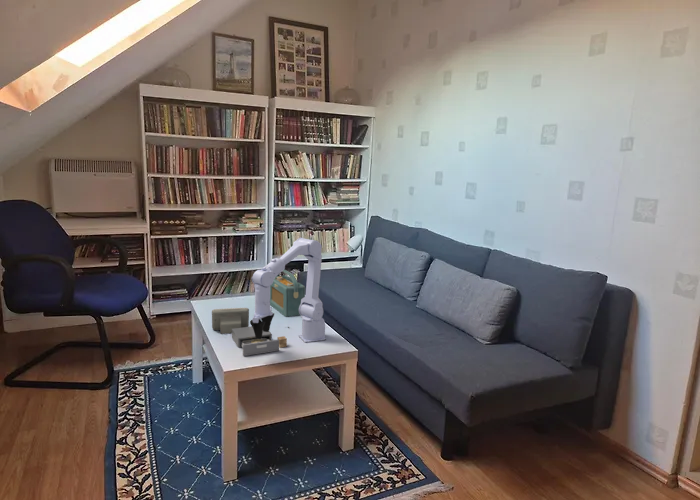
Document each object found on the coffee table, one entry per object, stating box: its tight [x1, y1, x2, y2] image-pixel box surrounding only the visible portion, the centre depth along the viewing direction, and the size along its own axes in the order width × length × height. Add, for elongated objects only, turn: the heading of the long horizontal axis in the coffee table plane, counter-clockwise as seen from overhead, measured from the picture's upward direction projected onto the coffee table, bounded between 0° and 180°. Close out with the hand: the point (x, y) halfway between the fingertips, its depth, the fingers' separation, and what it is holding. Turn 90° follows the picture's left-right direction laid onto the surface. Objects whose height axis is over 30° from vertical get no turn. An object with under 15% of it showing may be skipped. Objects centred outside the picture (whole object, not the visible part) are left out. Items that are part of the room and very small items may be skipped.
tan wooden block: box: [276, 335, 288, 349], centre depth 194 cm, size 3×3×4 cm
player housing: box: [231, 325, 273, 349], centre depth 199 cm, size 14×12×4 cm
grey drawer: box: [240, 337, 280, 357], centre depth 191 cm, size 14×12×4 cm
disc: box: [251, 339, 264, 343], centre depth 191 cm, size 5×5×2 cm
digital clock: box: [211, 307, 250, 335], centre depth 209 cm, size 16×9×11 cm, turn 94°
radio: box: [270, 269, 306, 318], centre depth 241 cm, size 26×11×20 cm, turn 30°
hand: (262, 334), depth 183 cm, fingers open, 7 cm apart
